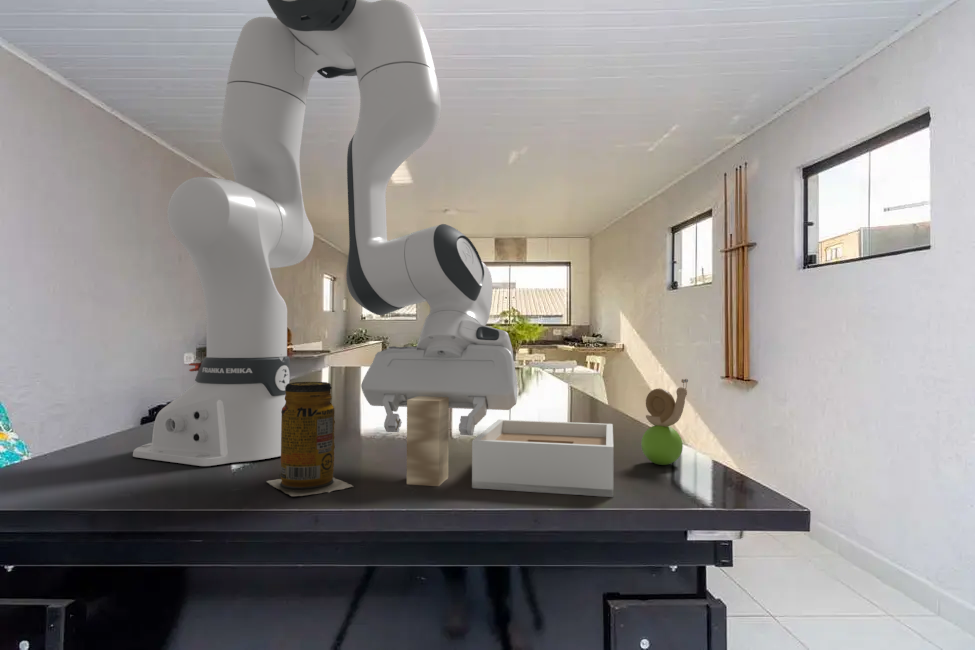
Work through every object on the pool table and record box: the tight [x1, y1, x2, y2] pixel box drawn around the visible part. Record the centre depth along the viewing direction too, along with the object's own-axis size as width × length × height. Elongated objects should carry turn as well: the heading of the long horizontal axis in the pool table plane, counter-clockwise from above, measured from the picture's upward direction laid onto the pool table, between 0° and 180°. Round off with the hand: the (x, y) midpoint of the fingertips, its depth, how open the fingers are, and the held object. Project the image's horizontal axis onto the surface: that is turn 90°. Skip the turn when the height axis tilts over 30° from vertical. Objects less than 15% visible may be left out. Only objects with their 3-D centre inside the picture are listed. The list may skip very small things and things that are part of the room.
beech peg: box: [406, 396, 450, 487], centre depth 69 cm, size 4×4×10 cm
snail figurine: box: [640, 378, 689, 466], centre depth 78 cm, size 5×6×12 cm
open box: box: [471, 419, 614, 498], centre depth 72 cm, size 16×16×6 cm
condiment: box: [265, 381, 355, 497], centre depth 67 cm, size 7×8×12 cm
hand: (427, 431), depth 69 cm, fingers open, 8 cm apart
